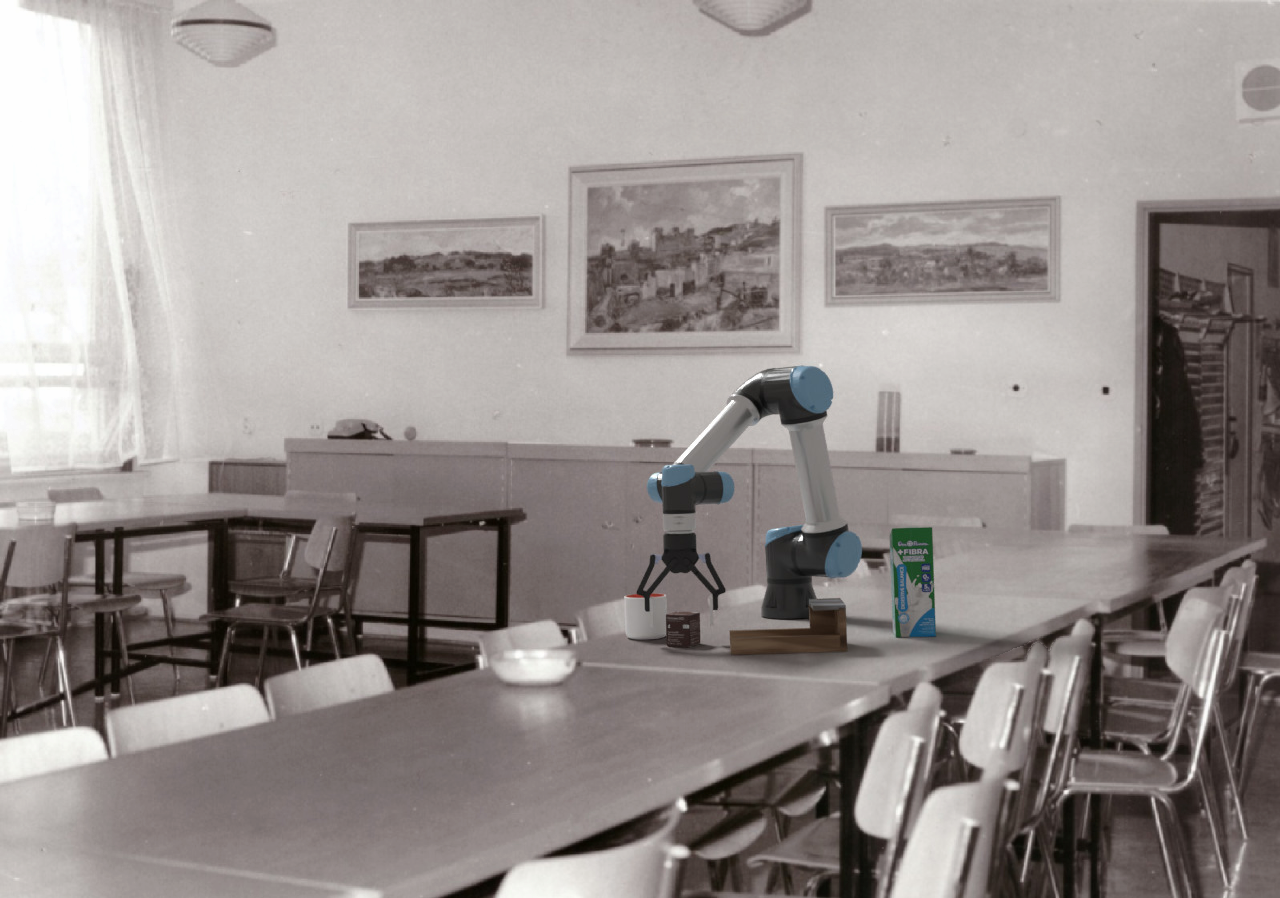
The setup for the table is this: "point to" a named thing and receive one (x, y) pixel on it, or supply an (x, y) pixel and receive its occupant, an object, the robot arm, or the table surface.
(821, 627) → the channel
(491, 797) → the table surface
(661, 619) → the cup
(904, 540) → the milk carton
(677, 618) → the box
